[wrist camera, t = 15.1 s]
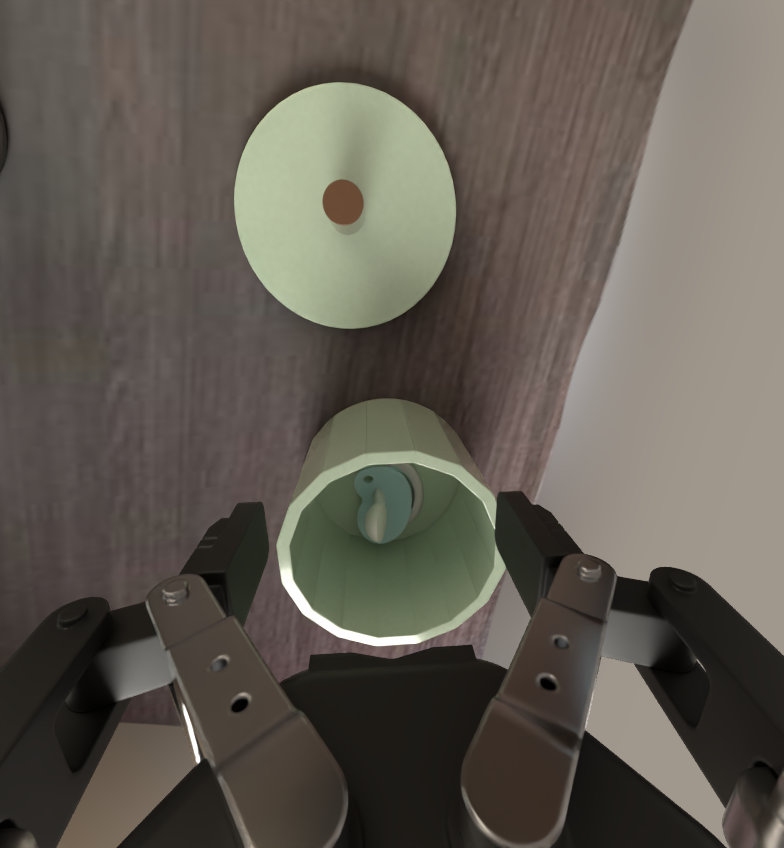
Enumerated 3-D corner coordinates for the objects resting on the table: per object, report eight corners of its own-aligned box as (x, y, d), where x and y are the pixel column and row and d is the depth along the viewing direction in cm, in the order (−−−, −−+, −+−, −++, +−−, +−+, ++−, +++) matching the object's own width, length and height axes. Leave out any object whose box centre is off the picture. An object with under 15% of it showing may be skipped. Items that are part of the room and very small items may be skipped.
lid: (195, 154, 28) (149, 119, 22) (402, 45, 26) (412, -23, 21) (303, 359, 33) (289, 375, 27) (482, 275, 31) (508, 273, 25)
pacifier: (421, 451, 35) (352, 457, 35) (434, 485, 29) (351, 492, 29) (423, 524, 38) (358, 530, 37) (436, 568, 32) (360, 576, 31)
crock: (274, 440, 35) (232, 511, 24) (429, 370, 33) (459, 411, 23) (349, 565, 39) (342, 673, 28) (487, 508, 38) (536, 597, 27)
